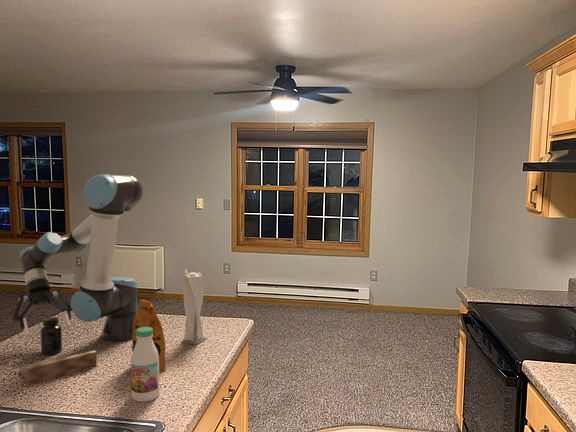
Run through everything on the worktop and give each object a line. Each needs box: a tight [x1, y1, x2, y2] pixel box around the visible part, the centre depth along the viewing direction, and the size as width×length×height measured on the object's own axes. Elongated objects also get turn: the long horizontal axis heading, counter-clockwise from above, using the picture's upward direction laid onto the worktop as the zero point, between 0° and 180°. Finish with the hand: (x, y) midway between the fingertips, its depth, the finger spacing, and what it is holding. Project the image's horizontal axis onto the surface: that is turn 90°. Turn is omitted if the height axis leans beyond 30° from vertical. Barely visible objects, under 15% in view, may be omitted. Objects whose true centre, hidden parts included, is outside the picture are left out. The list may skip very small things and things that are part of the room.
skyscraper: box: [180, 268, 207, 346], centre depth 172 cm, size 8×8×28 cm
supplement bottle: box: [39, 316, 63, 356], centre depth 159 cm, size 7×7×12 cm
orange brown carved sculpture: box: [131, 299, 167, 373], centre depth 147 cm, size 10×12×22 cm
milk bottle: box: [130, 327, 160, 403], centre depth 127 cm, size 8×8×20 cm
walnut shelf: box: [19, 350, 98, 385], centre depth 145 cm, size 20×12×5 cm, turn 131°
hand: (48, 331), depth 160 cm, fingers open, 13 cm apart
